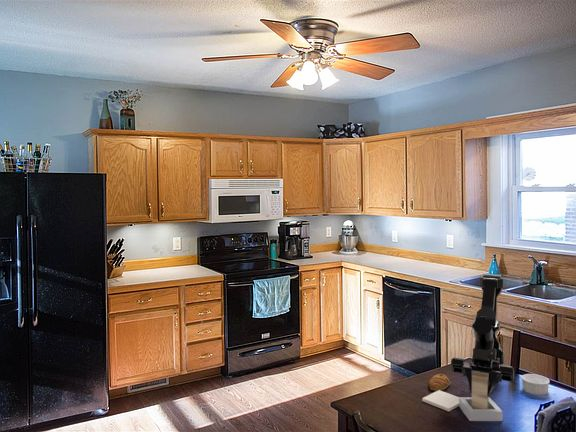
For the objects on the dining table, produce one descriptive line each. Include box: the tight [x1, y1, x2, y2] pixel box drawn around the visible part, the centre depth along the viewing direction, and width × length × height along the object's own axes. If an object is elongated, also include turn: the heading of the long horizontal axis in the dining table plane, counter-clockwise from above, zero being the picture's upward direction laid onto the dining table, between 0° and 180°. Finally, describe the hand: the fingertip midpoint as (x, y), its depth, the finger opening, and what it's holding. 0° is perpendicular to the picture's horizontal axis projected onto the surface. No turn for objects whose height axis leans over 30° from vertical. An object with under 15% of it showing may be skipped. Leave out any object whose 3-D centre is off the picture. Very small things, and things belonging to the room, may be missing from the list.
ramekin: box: [520, 373, 550, 396], centre depth 164 cm, size 9×9×4 cm
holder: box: [458, 396, 504, 422], centre depth 147 cm, size 10×10×3 cm
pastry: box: [428, 373, 451, 392], centre depth 167 cm, size 9×7×4 cm
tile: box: [421, 390, 460, 412], centre depth 156 cm, size 10×10×1 cm
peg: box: [471, 370, 489, 409], centre depth 147 cm, size 4×4×12 cm
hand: (479, 394), depth 146 cm, fingers closed on peg, 4 cm apart
